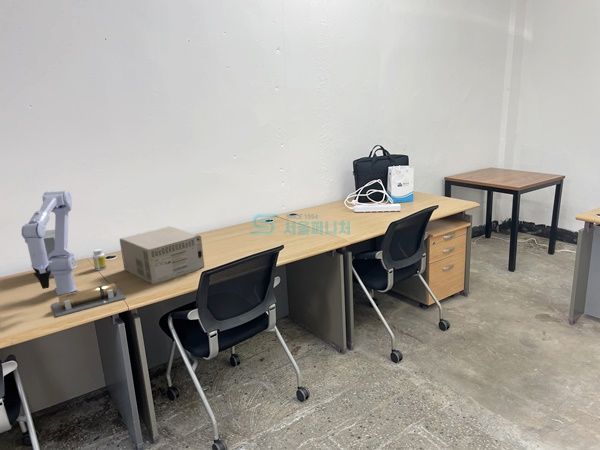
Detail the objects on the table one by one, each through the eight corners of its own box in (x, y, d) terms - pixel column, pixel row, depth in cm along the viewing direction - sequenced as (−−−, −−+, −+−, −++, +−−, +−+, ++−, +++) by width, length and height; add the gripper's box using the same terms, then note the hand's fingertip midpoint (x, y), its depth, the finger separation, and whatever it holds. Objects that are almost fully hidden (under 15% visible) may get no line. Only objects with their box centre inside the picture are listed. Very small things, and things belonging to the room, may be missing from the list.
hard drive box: (49, 268, 227) (41, 230, 221) (66, 266, 229) (59, 228, 224) (44, 279, 212) (36, 239, 207) (62, 276, 215) (54, 236, 210)
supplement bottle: (108, 266, 225) (105, 248, 223) (104, 270, 220) (100, 251, 218) (97, 267, 225) (94, 248, 223) (93, 270, 220) (89, 252, 217)
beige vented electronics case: (174, 255, 237) (170, 225, 233) (204, 267, 217) (201, 235, 213) (124, 270, 219) (119, 238, 215) (152, 285, 199) (147, 250, 195)
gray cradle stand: (51, 305, 183) (50, 295, 182) (118, 288, 197) (116, 279, 196) (56, 317, 172) (53, 307, 171) (126, 298, 185) (124, 289, 184)
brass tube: (59, 303, 180) (57, 293, 178) (114, 290, 191) (113, 280, 189) (61, 311, 177) (59, 301, 174) (117, 296, 188) (116, 287, 185)
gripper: (51, 255, 172) (58, 288, 175) (47, 246, 183) (54, 277, 187) (30, 259, 168) (37, 292, 172) (27, 250, 180) (34, 281, 183)
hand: (44, 285), depth 179 cm, fingers open, 7 cm apart
